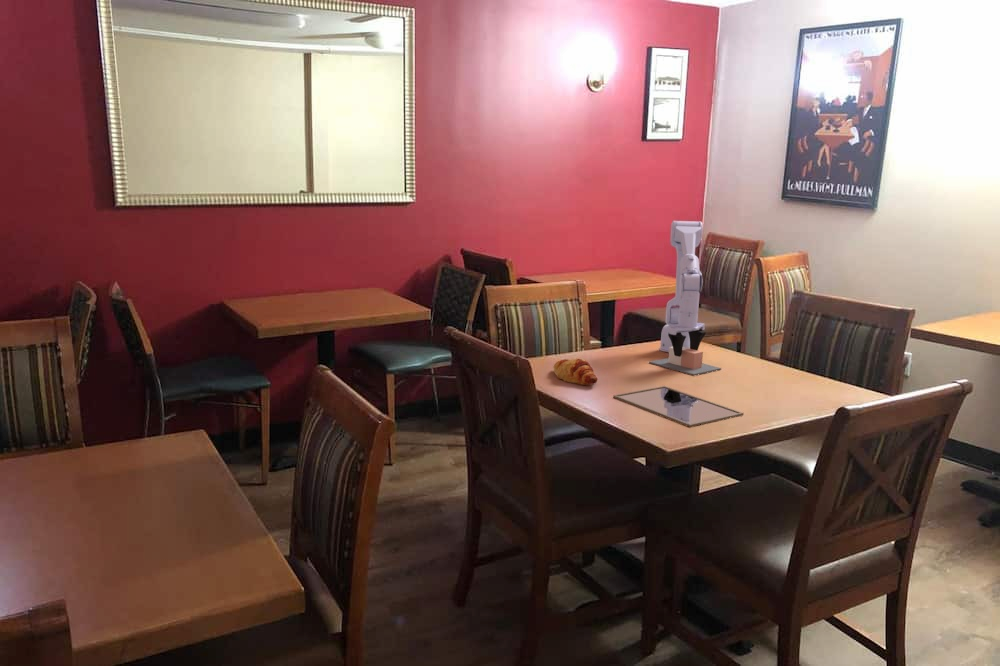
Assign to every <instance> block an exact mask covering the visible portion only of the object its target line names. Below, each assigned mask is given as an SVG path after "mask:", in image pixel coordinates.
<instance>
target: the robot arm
mask: <svg viewBox="0 0 1000 666" xmlns="http://www.w3.org/2000/svg"><path fill="white" fill-rule="evenodd" d="M703 225H704V224H703V222H702V221H700V220H699V221H694V220H692V221H689V220H672V222H671V224H670V246H671V247H673V248H675V251H676V269H675V270H676V273H675V276H676V277H675V292H674V293H675V295H674V297H673V298H671V299H670V300H668V301H667V303H666V308H665V323H666V324H665V325H664V326H663V327H662V329H661V333H660V334H661V335H660V336H661V337H660V348H658V351H662V352H664V353H665V352H666V353H669V347H673V350H674V355H675V356H678V357H681V354H682V347H685V348H689V349H693V350H698V351H699V349H700V348H699V347H700V345H701V342H702V340H703V339H704V338H705V336H706V332H707V331H706V329H705V327H706V324H705V323H703V322H698V321H699V308H700V307H699V304H700V296H701V295H700V293H702V290H703V281H704V280H703V273H702V271H701V270H700V259H699V257H698V256H697V255H696V248H697V247H699V245H700V244H701V241H702V240H701V239H702V237H703V231H704V230H703V229H704V227H703Z"/></svg>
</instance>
